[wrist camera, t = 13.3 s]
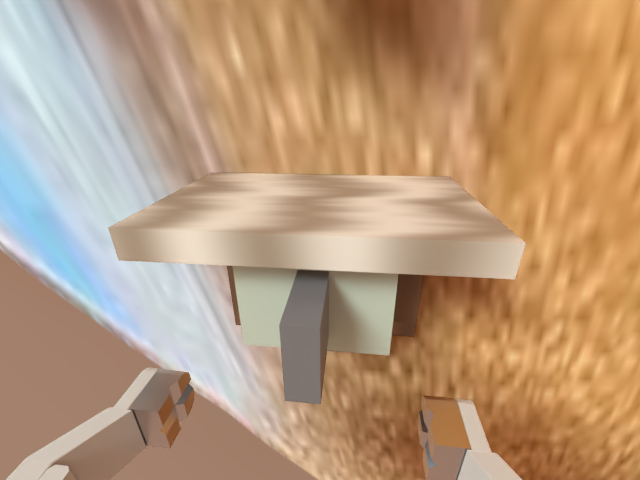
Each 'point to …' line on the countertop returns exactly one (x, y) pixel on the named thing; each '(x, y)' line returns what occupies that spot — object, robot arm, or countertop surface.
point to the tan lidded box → (326, 230)
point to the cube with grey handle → (314, 318)
